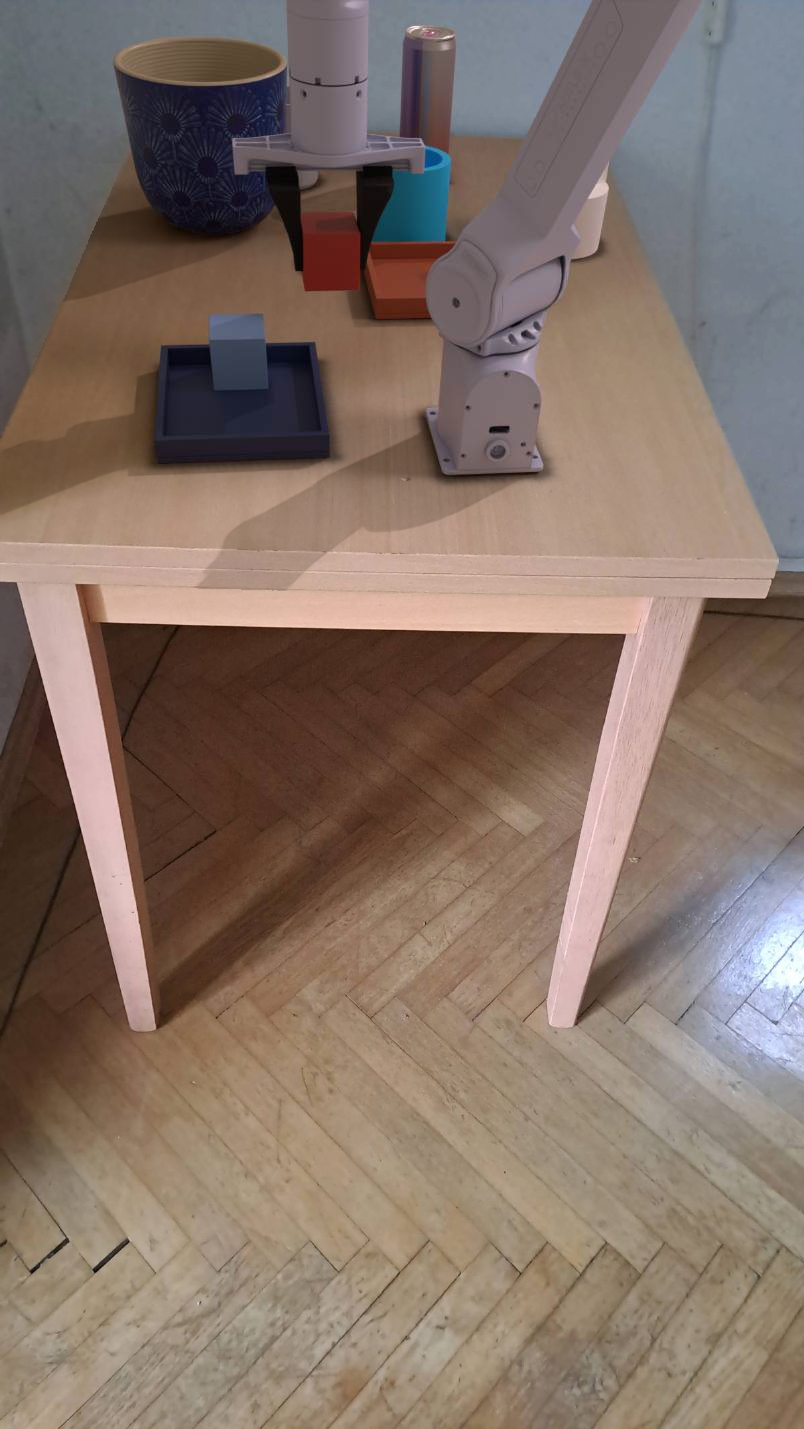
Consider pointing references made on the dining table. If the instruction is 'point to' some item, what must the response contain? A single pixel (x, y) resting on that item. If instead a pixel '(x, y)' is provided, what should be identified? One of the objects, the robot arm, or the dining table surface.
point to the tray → (401, 276)
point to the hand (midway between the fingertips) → (330, 265)
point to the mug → (418, 203)
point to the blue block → (238, 351)
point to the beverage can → (427, 85)
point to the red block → (330, 251)
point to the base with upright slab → (591, 219)
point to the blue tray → (240, 408)
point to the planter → (201, 126)
